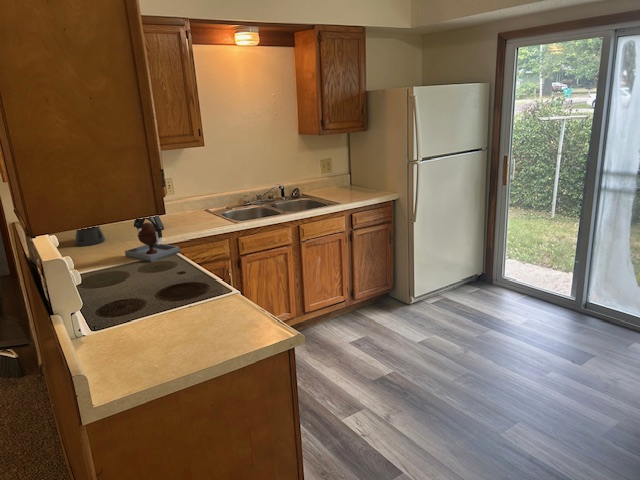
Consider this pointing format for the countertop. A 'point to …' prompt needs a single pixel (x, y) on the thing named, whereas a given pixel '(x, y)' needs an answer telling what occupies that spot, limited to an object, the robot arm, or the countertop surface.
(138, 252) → the serving tray
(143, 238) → the ice cream bowl
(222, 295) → the countertop surface
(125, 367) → the countertop surface
